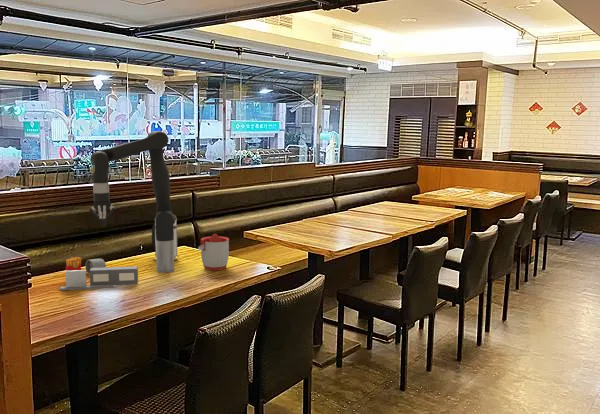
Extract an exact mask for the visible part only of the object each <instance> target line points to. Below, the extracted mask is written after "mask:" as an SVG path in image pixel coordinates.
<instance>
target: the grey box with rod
mask: <svg viewBox="0 0 600 414" xmlns="http://www.w3.org/2000/svg"><path fill="white" fill-rule="evenodd" d="M138 284H139V266H138V265H137V266H135V265H133V266H112V267H110V266H108V267H107V266H106V267H104V268H91V269H90V274H89V285H87V286H80V287H66V286H60V287H59V292H60V291H61V292H62V291H78V290H79V291H80V290H84V291H85V290H102V289H114V286H132V285H134V286H136V285H138Z"/></svg>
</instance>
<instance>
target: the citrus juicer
mask: <svg viewBox="0 0 600 414" xmlns="http://www.w3.org/2000/svg"><path fill="white" fill-rule="evenodd" d="M229 243H230V238H229V237H227V236H220V235H218V234H217V233H212V235H210V236H209V235H208V236H203V237H202V238H200V245H199V246H198V247H197V249H198V251H200V252H201V253H200V256H201V262H202V265H203V268H204V270H206V271H210V270H211V271H210V272H216V270H218V271H223V270H222V269H224V270H225V269H226V268H227V266H228V262H229V255H230V252H229V251H230V244H229Z"/></svg>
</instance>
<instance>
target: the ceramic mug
mask: <svg viewBox="0 0 600 414" xmlns="http://www.w3.org/2000/svg"><path fill="white" fill-rule="evenodd" d="M106 265H107V264H106V262H105V260H104V259H103V258H92V259H87V260H86V262H85V264H84V267H85V270H86V274H89V275H90V269H91V268H104V267H107V266H106Z"/></svg>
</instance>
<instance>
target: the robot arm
mask: <svg viewBox="0 0 600 414" xmlns="http://www.w3.org/2000/svg"><path fill="white" fill-rule="evenodd" d="M168 143H169V137H168V135H167V134H166V133H165V132H164V131H161V130H154V131H151V132H149V133H148V134H147V137H145V138H141V139H138V140H135V141H129V142H125V143H122V144H121V143H120V144H118V145H115V146H112V147H108V148H105V149H100V150H97V151H94V152H93V153H92V154H91V155H90V162H91V163H92V165H94V171H93V173H92V182H93V184H92V185H93V186H92V189H93V190H92V193H93V204H92V206H91V207H89V208H88V210H89V212H90V213H91V214H92V215H93V216H94V217H95V218H97V219H99V225H100V226H101V227H105V226H106V225H107V218H110V216H112V213H113V212H114V211H116V207H115V206H113V205H112V203H111V201H110V200H111V198H110V196H111V195H110V185H109V175H108V173H109V167H110V166H109V165H110V162H113V161H115V162H116V161H120V160H123V159H126V158H129V157H131V156H135V155H138V154H140V153H144V152H147V151H148V154H149V160H150V162H149V163H150V172H151V184H152V190H153V195H154V198H155V200H156V201H155V202H156V216H155V217H156V220H154V224H155V223H156V256H155V258H156V272H158V273H164V274H165V273H172V272H173V273H174V272H175V258H174V231H173V210H172V205H171V179H170V178H171V177H170V172H169V168H168V166H167V164H166V161H165V158H164V148H166V147H167V146H168ZM95 210H96V211H95ZM108 210H109V212H108ZM97 212H98V213H97ZM107 212H108V213H107Z"/></svg>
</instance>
